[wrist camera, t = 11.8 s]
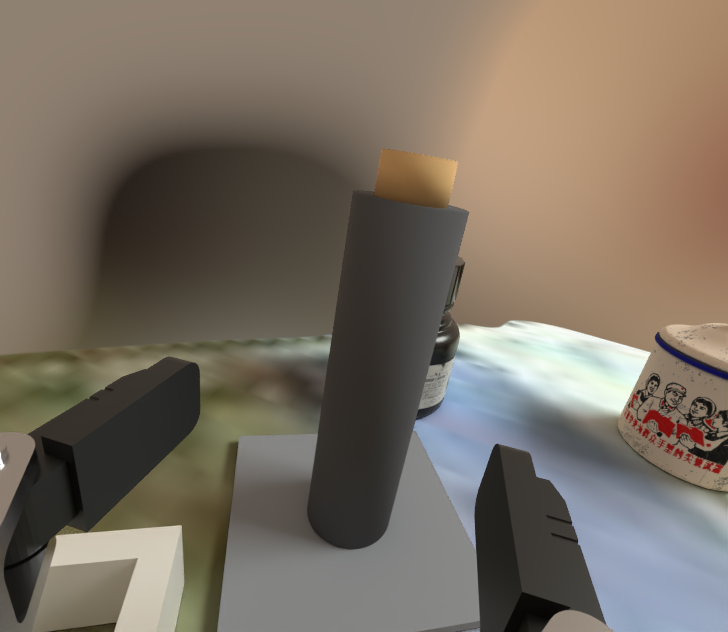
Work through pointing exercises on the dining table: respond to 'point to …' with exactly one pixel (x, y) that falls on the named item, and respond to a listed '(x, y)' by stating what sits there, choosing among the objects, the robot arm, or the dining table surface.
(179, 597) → the square ring with handle
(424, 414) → the ink bottle
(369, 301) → the black cable stub
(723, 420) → the teacup with lid
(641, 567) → the dining table surface
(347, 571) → the grey felt mat
